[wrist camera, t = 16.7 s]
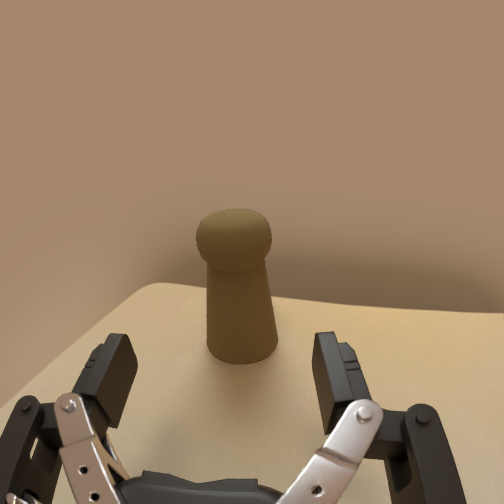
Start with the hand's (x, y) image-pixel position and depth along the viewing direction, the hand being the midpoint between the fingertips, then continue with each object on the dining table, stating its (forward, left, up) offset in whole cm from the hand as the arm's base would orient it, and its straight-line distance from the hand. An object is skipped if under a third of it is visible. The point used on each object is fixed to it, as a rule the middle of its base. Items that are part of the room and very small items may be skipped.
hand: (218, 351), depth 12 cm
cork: (0, +10, -9) cm, 13 cm away
